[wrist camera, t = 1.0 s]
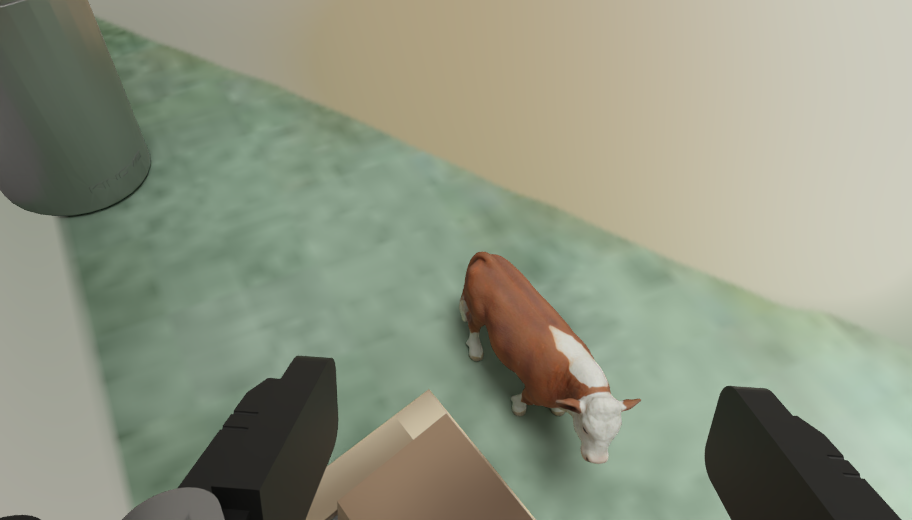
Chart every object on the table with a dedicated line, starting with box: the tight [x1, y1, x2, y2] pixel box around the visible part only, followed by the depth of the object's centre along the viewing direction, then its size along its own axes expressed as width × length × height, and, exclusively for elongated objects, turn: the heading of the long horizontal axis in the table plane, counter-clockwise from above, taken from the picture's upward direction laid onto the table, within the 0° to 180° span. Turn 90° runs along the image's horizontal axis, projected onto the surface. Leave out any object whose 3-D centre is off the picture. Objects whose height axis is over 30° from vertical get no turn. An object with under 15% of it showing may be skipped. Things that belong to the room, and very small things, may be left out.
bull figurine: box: [459, 252, 641, 464], centre depth 30 cm, size 4×13×8 cm, turn 30°
